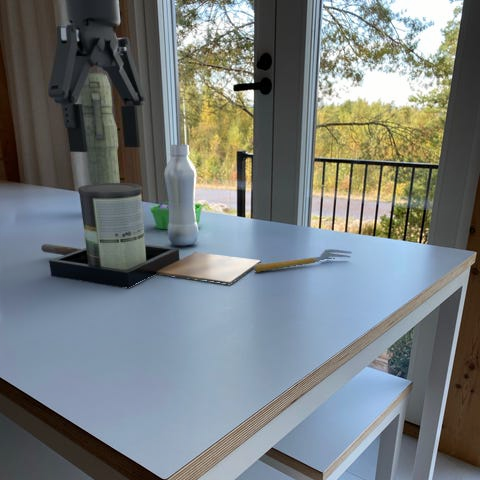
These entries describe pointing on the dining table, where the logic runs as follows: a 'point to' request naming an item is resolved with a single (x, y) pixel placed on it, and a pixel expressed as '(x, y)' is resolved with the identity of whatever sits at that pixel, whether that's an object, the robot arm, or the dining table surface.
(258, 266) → the fork
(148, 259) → the pan
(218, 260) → the cardboard square
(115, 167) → the thermos
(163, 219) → the fruit basket
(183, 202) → the plastic bottle
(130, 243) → the coffee can
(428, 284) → the dining table surface
